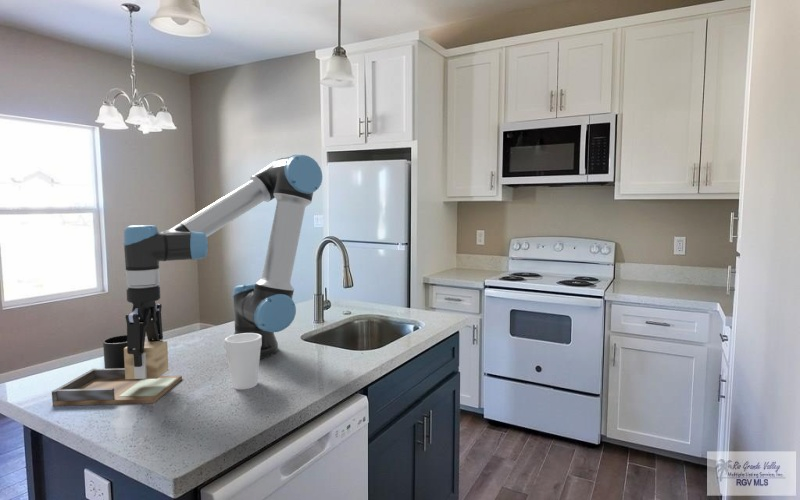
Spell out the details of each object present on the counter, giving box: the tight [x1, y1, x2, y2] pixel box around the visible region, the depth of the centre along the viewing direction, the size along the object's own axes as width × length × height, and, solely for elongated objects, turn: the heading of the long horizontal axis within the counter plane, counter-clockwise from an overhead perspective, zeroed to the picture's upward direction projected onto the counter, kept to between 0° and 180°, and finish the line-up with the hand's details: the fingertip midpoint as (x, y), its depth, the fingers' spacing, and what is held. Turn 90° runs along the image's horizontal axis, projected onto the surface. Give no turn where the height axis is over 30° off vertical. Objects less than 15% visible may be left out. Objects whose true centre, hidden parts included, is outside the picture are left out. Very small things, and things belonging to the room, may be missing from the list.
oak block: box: [124, 340, 169, 379], centre depth 119 cm, size 8×6×8 cm
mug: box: [102, 334, 127, 369], centre depth 136 cm, size 9×12×9 cm
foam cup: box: [224, 333, 262, 390], centre depth 123 cm, size 10×9×13 cm
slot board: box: [51, 368, 183, 407], centre depth 119 cm, size 24×16×4 cm, turn 93°
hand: (147, 373), depth 119 cm, fingers closed on oak block, 6 cm apart
